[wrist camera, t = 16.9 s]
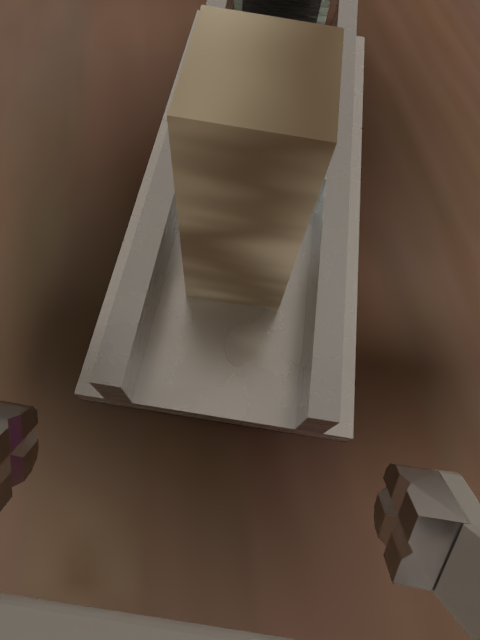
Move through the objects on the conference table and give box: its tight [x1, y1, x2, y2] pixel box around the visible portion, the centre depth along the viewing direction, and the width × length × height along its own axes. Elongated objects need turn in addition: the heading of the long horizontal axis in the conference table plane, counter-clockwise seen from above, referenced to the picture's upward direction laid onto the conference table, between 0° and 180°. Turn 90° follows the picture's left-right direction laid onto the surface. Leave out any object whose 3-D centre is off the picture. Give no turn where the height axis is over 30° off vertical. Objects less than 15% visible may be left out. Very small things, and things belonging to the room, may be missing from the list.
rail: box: [74, 0, 365, 442], centre depth 19 cm, size 12×28×11 cm, turn 172°
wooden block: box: [167, 5, 344, 310], centre depth 17 cm, size 4×6×10 cm
